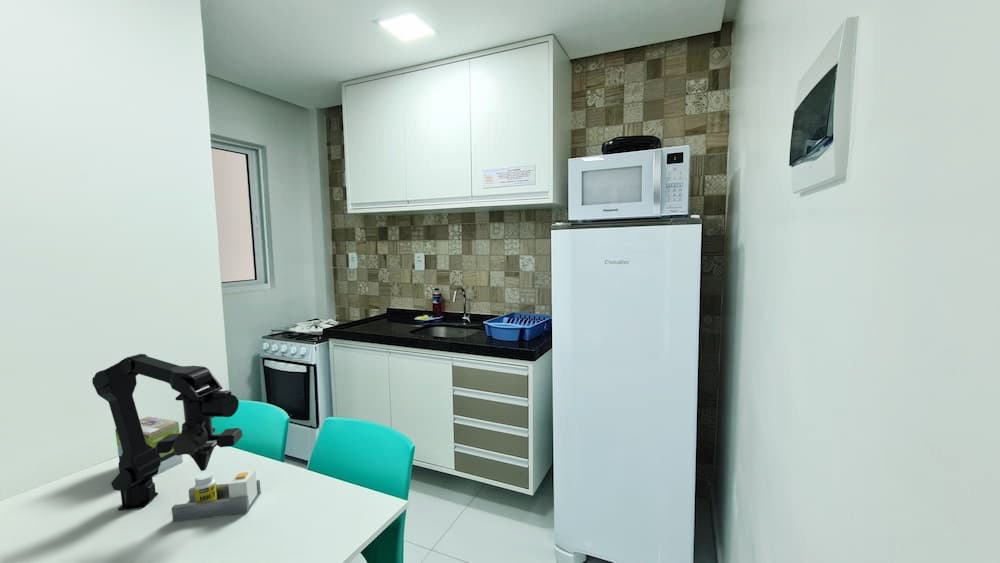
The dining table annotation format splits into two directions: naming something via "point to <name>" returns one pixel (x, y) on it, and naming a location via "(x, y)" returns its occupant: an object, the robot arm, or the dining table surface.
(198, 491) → the supplement bottle
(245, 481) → the seated module
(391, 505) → the dining table surface
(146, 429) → the tea box
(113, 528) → the dining table surface
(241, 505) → the grey tray
